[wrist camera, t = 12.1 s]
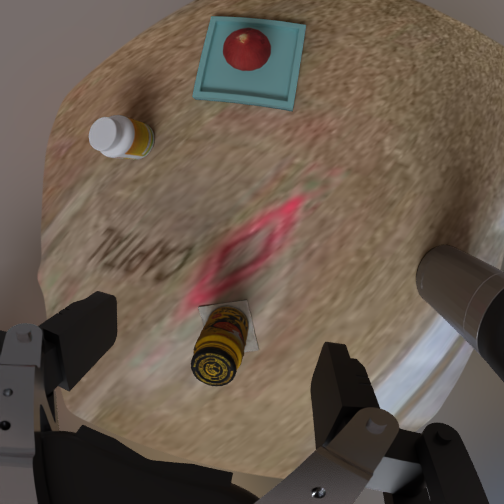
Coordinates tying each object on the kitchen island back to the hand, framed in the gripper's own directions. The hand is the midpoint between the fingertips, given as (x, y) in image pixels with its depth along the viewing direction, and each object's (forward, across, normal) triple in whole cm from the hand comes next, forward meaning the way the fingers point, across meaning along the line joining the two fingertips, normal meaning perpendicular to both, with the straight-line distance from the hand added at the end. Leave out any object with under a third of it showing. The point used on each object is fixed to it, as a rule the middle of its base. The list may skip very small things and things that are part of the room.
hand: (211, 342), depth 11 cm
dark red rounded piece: (+30, +5, -22) cm, 37 cm away
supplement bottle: (+30, +19, -9) cm, 37 cm away
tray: (+30, +5, -22) cm, 37 cm away
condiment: (+30, +2, +16) cm, 34 cm away
